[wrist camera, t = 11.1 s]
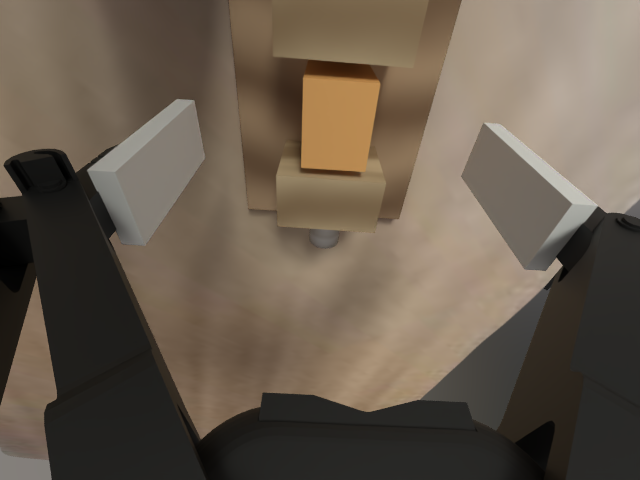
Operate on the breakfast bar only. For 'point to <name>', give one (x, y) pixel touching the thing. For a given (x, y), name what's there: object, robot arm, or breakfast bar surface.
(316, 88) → the orange rectangular block
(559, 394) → the robot arm
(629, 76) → the breakfast bar surface
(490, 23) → the breakfast bar surface
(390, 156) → the shaft bench
